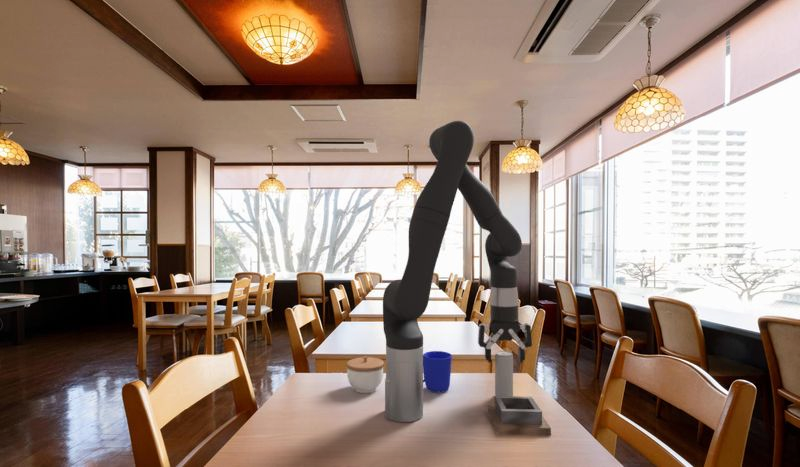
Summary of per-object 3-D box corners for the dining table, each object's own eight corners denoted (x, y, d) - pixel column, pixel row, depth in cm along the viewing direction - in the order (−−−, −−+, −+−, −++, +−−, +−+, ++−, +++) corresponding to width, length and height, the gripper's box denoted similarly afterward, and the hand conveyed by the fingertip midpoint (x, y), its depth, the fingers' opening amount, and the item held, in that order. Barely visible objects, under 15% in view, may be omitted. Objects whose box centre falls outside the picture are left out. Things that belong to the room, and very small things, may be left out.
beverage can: (515, 400, 114) (514, 355, 114) (497, 400, 114) (497, 355, 114) (510, 393, 119) (510, 351, 119) (493, 393, 119) (493, 350, 119)
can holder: (496, 433, 94) (496, 413, 94) (487, 411, 106) (487, 393, 106) (550, 435, 94) (550, 414, 94) (536, 412, 106) (536, 394, 106)
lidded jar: (382, 396, 117) (382, 362, 117) (344, 396, 117) (344, 362, 117) (384, 382, 127) (384, 351, 127) (349, 382, 127) (349, 351, 127)
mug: (411, 383, 127) (411, 349, 127) (452, 385, 125) (452, 351, 125) (408, 393, 119) (408, 357, 119) (451, 395, 117) (451, 359, 117)
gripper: (480, 305, 113) (480, 366, 113) (533, 305, 112) (534, 366, 112) (476, 301, 120) (477, 357, 120) (526, 300, 120) (527, 357, 120)
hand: (504, 361), depth 116 cm, fingers open, 8 cm apart
